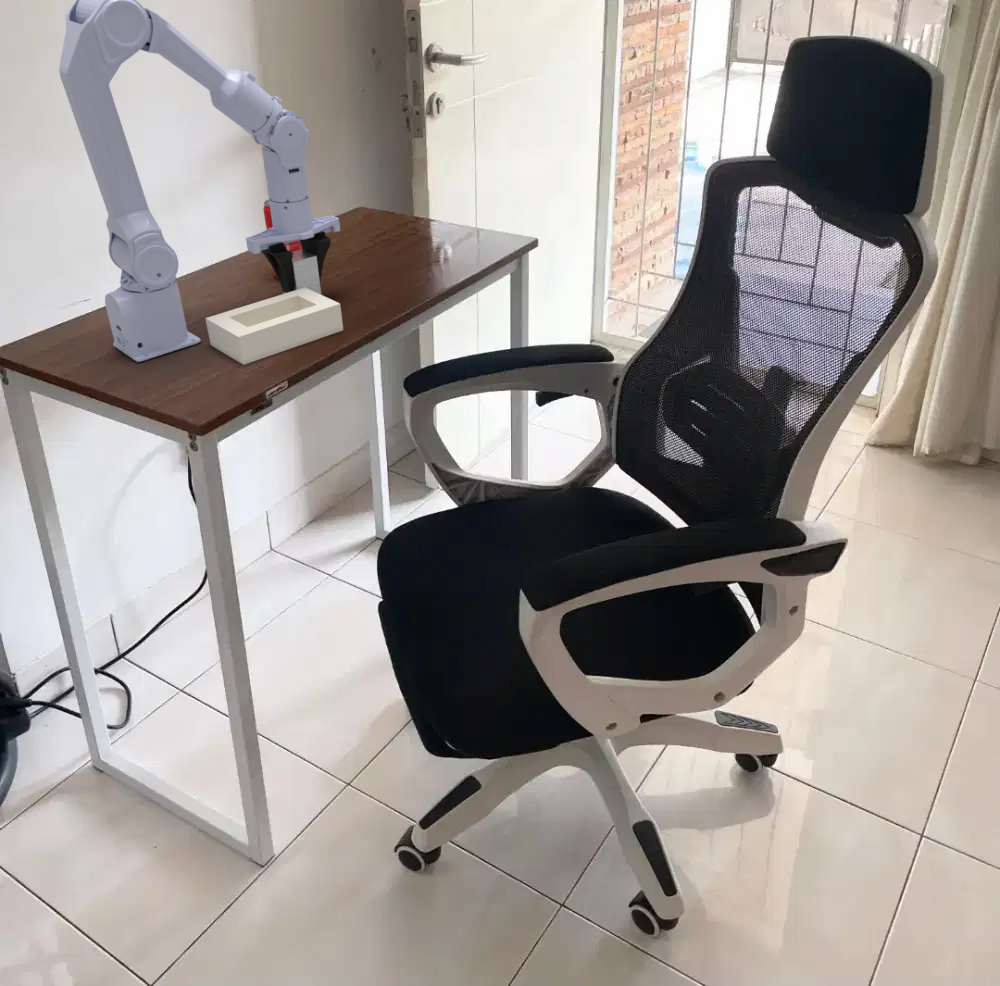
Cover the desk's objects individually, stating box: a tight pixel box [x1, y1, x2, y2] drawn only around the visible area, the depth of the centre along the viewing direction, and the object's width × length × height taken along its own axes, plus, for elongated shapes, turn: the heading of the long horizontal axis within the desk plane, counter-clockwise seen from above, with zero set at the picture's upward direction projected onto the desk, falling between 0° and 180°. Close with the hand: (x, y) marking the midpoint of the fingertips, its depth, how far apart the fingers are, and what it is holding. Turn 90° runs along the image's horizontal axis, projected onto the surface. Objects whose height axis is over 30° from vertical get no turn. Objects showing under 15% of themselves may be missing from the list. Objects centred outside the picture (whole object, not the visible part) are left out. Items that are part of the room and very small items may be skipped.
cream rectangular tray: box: [205, 287, 344, 366], centre depth 140 cm, size 16×9×4 cm, turn 132°
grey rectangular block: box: [283, 249, 322, 295], centre depth 149 cm, size 4×4×7 cm
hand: (301, 288), depth 150 cm, fingers closed on grey rectangular block, 4 cm apart
